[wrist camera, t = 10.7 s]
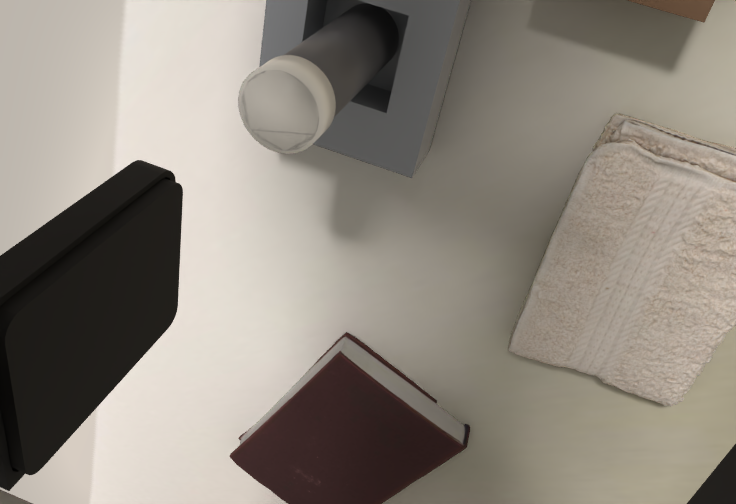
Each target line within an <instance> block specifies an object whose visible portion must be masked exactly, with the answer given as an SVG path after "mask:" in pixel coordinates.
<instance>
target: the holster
mask: <svg viewBox="0 0 736 504" xmlns="http://www.w3.org/2000/svg"><path fill="white" fill-rule="evenodd" d="M628 1H631V2H635V3H638V4H642V5H645V6H649V7H652V8H655V9H659V10H662V11H666V12H669V13H673V14H676V15H680V16H683V17H687V18H690V19H694V20H697V21H701V22H705V20H706V18H707V16H708V14H709V12H710V10H711V7H712V5H713V3H714V1H715V0H628Z"/></svg>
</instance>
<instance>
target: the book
mask: <svg viewBox="0 0 736 504" xmlns="http://www.w3.org/2000/svg"><path fill="white" fill-rule="evenodd" d="M436 403H437V400H435V399H434V398H433V397H431V396H430V395H429V394H428V393H426V392H425V391H424V390H422V389H421V388H420V387H419V386H418V385H417V384H415V383H414V382H413V381H412V380H410V379H409V378H407V377H406V376H405V375H404V374H403V373H401V372H400V371H399V370H398V369H396V368H395V367H393V366H392V365H391V364H389V363H388V362H387V361H386V360H384V359H383V358H382V357H381V356H380V355H378V354H377V353H375V352H374V351H373V350H371V349H370V348H369V347H368V346H366V345H365V344H364V343H362V342H361V341H360V340H358V339H357V338H355V337H354V336H352V335H350V334H349V333H347V332H346V333H345V334H344V335H343V336H342V337H341V338H340V339H338V340H337V341H336V343H335V344H334V345H333V346H332V347H331V348H330V349H329V350H328V351H327V352H326V353H325V354H324V355H323V356H322V357H321V358H320V359H319V360H318V361H317V362H316V363H315V364H314V365H313V366H312V367H311V368H310V369H309V371H308V372H307V373H306V374H305V375H304V376H303V377H302V378H301V379H300V380H299V381H298V382H297V383H296V384H295V385H294V386H293V387H292V388H291V389H290V390H289V391H288V392H287V393H286V394H285V395H284V396H283V397H282V398H281V399H280V400H279V401H278V402H277V404H276V405H275V406H274V407H272V408H271V409H270V410H269V411H268V412H267V413H266V414H265V415H264V416H263V417H262V418H261V419H260V420H259V421H258V422H257V423H256V424H255V425H254V426H252V427H251V428H250V429H249V430H248V431H247V432H245V433H244V434H242V435H241V436H240V437H239V438H238V439H239V440H241V442H240V446H239V447H238V448H237V449H235V450H234V451H233V452H232V453H231V455H230V457H231V459H232V460H233V461H234V462H235V463H236V464H237V465H238V466H239V467H241V468H242V469H243V470H244V471H246V472H247V473H248V474H249V475H250V476H252V477H253V478H254V479H256V480H257V481H258V482H259V483H261V484H262V485H264V486H265V487H267V488H268V489H270V490H271V491H272V492H273V493H275V494H276V495H277V496H278V497H280V498H281V499H282V500H284V501H285V502H286V503H288V504H382V503H383V502H385V501H386V500H388V499H389V498H391V497H392V496H394V495H395V494H397V493H398V492H400V491H401V490H403V489H404V488H406V487H407V486H409V485H410V484H411V483H413V482H414V481H416V480H417V479H419V478H421V477H423V476H425V475H426V474H428V473H429V472H431V471H432V470H433V469H435V468H437V467H438V466H440V465H441V464H443V463H445V462H446V461H447V460H449V459H450V458H452V457H453V456H455V455H456V454H458V453H460V452H461V451H462V450H464V449H465V448H466V447H467V443H468V438H469V432H470V427H469V425H467V424H465V425H463V424H462V423H460V422H459V421H458V420H457V419H455V418H454V417H453V416H451V415H450V414H449V413H448V412H446V411H445V410H444V409H442V408H441V407H440V406H439V405H437V404H436Z"/></svg>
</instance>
